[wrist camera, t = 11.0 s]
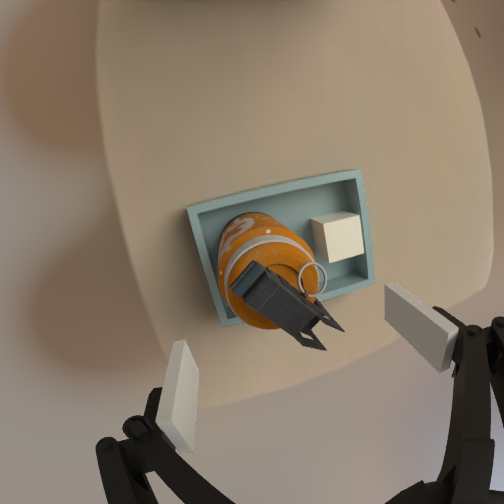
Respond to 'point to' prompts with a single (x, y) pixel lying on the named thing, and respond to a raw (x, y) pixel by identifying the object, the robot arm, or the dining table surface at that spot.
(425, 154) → the dining table surface
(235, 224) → the canister
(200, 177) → the dining table surface
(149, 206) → the dining table surface
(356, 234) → the cream cube
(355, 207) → the teal tray
